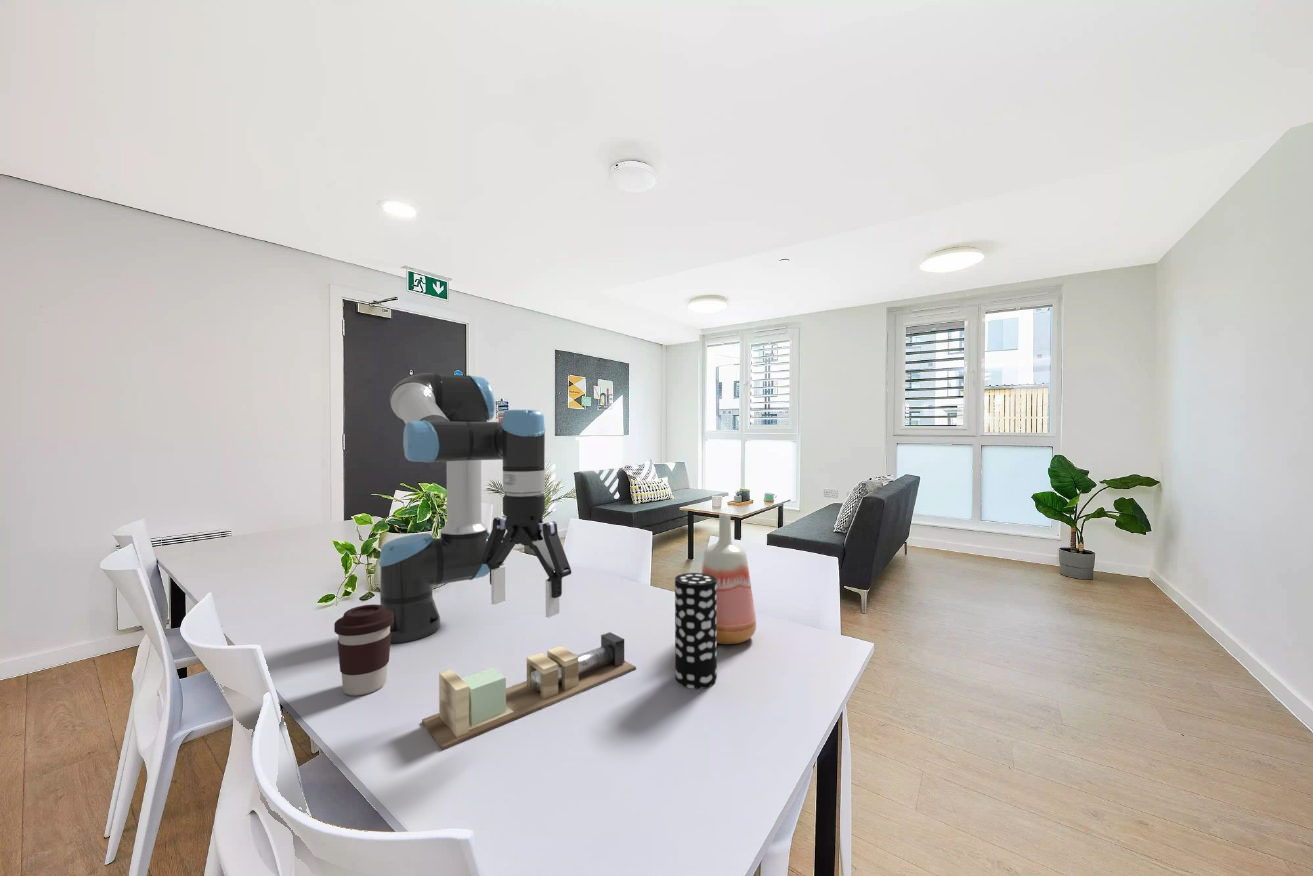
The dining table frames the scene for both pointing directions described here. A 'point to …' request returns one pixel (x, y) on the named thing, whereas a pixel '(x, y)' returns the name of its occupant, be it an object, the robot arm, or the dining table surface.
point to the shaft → (592, 658)
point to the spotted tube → (696, 630)
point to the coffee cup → (364, 648)
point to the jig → (514, 695)
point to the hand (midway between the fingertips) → (524, 608)
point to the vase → (730, 587)
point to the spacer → (486, 695)
